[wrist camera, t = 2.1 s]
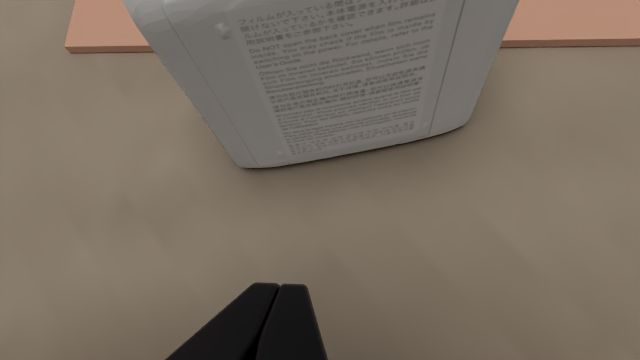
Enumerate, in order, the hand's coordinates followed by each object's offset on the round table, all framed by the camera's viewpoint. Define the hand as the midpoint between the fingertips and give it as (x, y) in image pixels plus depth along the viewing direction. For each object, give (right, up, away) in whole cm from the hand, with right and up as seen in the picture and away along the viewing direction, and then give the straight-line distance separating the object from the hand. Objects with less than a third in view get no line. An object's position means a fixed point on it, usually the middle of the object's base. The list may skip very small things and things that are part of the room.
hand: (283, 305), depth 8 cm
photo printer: (+2, +5, +13) cm, 14 cm away
